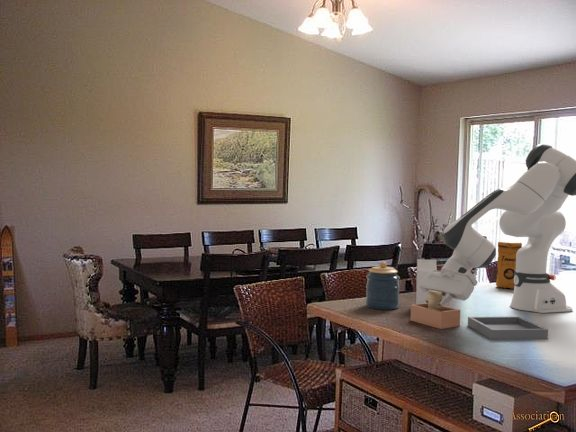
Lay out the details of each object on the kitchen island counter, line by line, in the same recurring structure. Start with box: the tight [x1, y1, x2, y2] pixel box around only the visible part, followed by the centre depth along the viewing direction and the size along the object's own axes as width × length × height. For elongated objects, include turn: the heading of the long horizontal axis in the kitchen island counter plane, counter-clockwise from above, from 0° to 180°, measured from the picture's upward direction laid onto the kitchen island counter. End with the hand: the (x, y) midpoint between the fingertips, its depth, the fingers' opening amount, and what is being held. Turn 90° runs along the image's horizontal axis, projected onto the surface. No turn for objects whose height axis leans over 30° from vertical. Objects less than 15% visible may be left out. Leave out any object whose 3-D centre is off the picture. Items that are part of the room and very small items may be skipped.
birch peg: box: [428, 290, 443, 312], centre depth 193 cm, size 4×4×10 cm
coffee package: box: [495, 241, 523, 290], centre depth 268 cm, size 10×12×22 cm
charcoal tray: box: [467, 316, 549, 341], centre depth 182 cm, size 18×18×3 cm
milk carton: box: [415, 258, 438, 304], centre depth 217 cm, size 7×7×19 cm
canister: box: [365, 261, 401, 311], centre depth 220 cm, size 13×13×18 cm
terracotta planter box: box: [410, 303, 461, 330], centre depth 193 cm, size 9×14×6 cm, turn 32°
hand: (433, 303), depth 193 cm, fingers closed on birch peg, 4 cm apart
